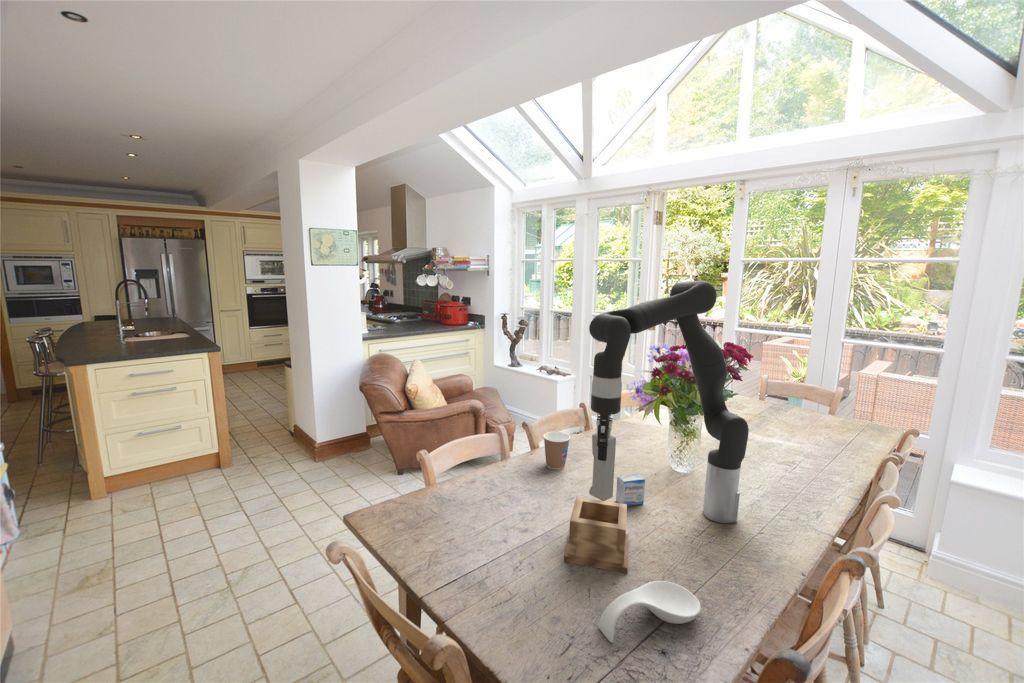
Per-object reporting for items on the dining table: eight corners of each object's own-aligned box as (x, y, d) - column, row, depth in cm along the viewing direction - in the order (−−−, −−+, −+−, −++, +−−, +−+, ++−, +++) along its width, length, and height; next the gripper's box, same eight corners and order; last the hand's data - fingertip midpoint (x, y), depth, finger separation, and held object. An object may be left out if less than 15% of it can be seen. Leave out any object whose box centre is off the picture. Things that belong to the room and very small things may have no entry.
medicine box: (622, 507, 144) (623, 482, 143) (615, 500, 148) (616, 475, 147) (643, 504, 146) (645, 479, 145) (636, 497, 150) (638, 473, 149)
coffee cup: (567, 473, 167) (569, 442, 166) (540, 470, 169) (541, 439, 168) (569, 461, 177) (571, 432, 175) (544, 459, 179) (545, 430, 177)
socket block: (628, 539, 127) (630, 503, 125) (627, 573, 112) (629, 532, 111) (571, 529, 131) (573, 494, 129) (563, 561, 116) (565, 522, 115)
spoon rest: (671, 588, 108) (674, 561, 106) (711, 624, 97) (714, 594, 96) (588, 617, 98) (590, 588, 97) (622, 660, 87) (624, 628, 86)
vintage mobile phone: (598, 490, 122) (602, 401, 118) (612, 497, 118) (618, 406, 115) (588, 494, 120) (593, 404, 116) (603, 502, 116) (608, 409, 112)
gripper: (620, 402, 107) (616, 468, 109) (622, 387, 120) (618, 446, 123) (588, 399, 109) (585, 464, 111) (594, 384, 122) (591, 443, 125)
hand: (602, 455), depth 117 cm, fingers closed on vintage mobile phone, 5 cm apart
